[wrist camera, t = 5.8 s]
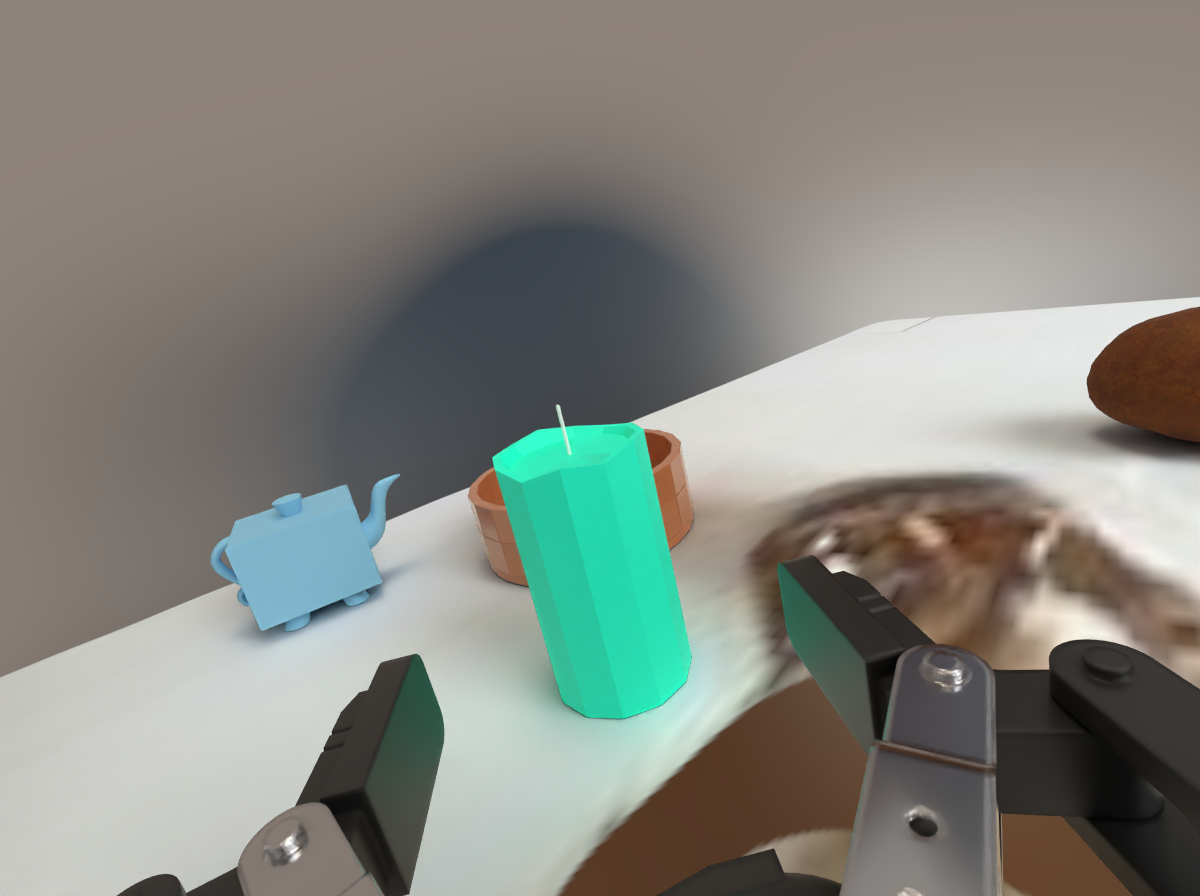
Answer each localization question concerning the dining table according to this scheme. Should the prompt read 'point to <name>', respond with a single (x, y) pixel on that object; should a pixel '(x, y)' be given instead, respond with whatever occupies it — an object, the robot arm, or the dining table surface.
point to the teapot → (304, 555)
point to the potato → (1152, 376)
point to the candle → (597, 565)
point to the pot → (498, 526)
